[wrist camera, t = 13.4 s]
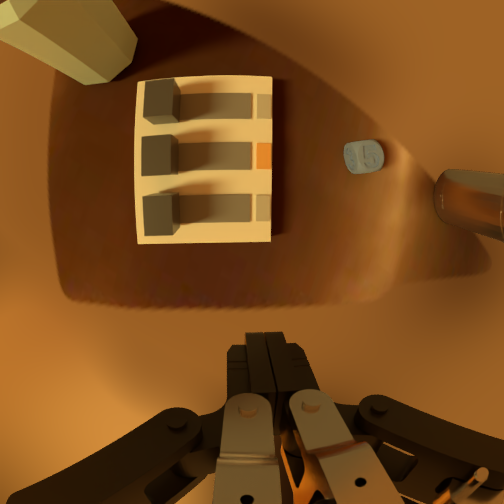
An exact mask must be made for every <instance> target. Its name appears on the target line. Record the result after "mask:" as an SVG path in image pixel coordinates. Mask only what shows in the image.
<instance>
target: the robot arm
mask: <svg viewBox="0 0 504 504" xmlns="http://www.w3.org/2000/svg"><path fill="white" fill-rule="evenodd" d="M434 203H435V208H436V212H437V214H438V216H439V217H440V219H441V220H442V221H443V222H445V223H447V224H450V225H454V226H457V227H460V228H463V229H466V230H469V231H472V232H475V233H478V234H481V235H484V236H487V237H490V238H493V239H496V240H498V241H501V242H504V174H499V173H490V172H480V171H469V170H457V169H448V170H446V171H444V172H443V173H442V174H441V175H440V177H439V178H438V180H437V182H436V186H435V190H434ZM274 435H281V439H282V446H281V454H282V457H283V461H284V464H285V468H286V471H287V474H288V477H289V481H290V484H291V487H292V490H293V495H294V504H418V503H416V502H414V501H412V500H409V499H407V498H405V497H403V496H400V495H399V493H401V494H403V495H406V496H408V497H410V498H413V499H415V500H418V501H420V502H423V503H426V504H502V502H503V499H504V440H501V439H498V438H494V437H492V436H488V435H485V434H482V433H479V432H476V431H473V430H470V429H467V428H464V427H462V426H459V425H456V424H453V423H451V422H448V421H445V420H443V419H440V418H437V417H435V416H432V415H430V414H427V413H424V412H422V411H420V410H417V409H415V408H413V407H410V406H408V405H405V404H403V403H401V402H398V401H396V400H394V399H391V398H389V397H387V396H383V395H370V396H367V397H365V398H363V399H362V401H361V402H360V403H359V405H343V404H338V403H335V402H333V401H332V399H331V398H330V397H329V396H328V395H327V394H326V393H324V392H322V391H320V389H319V386H318V384H317V382H316V379H315V377H314V374H313V372H312V369H311V367H310V364H309V362H308V360H307V357H306V355H305V352H304V350H303V349H302V348H301V347H300V346H299V345H297V344H296V343H286V340H285V337H284V334H283V332H264V333H263V332H258V333H245V345H232V346H231V348H230V349H229V350H228V352H227V401H226V403H225V404H224V406H223V407H222V408H220V409H219V410H217V411H216V412H213V413H210V414H206V415H201V416H198V415H197V414H196V413H194V412H193V411H191V410H189V409H185V408H179V407H178V408H170V409H166V410H163V411H162V412H160V413H159V414H157V415H156V416H154V417H153V418H151V419H149V420H148V421H147V422H145V423H143V424H142V425H140V426H139V427H137V428H135V429H134V430H133V431H131V432H129V433H128V434H126V435H124V436H123V437H121V438H119V439H118V440H116V441H115V442H113V443H111V444H109V445H108V446H106V447H104V448H102V449H101V450H99V451H97V452H95V453H94V454H92V455H90V456H88V457H86V458H85V459H83V460H81V461H79V462H78V463H75V464H74V465H72V466H70V467H68V468H66V469H64V470H62V471H60V472H58V473H56V474H54V475H52V476H50V477H48V478H46V479H44V480H42V481H40V482H37V483H35V484H33V485H31V486H29V487H26V488H24V489H22V490H19V491H17V492H15V493H13V494H12V495H10V497H9V498H8V500H7V502H6V504H175V503H176V502H177V501H178V500H180V499H181V498H182V497H183V496H185V495H186V494H187V493H188V492H190V491H191V490H192V489H193V488H194V487H195V486H197V485H198V484H199V483H200V482H201V481H202V480H203V479H205V477H206V476H207V475H208V474H211V473H215V482H214V491H213V501H212V504H282V502H281V489H280V476H279V464H278V459H277V458H275V450H274ZM383 442H386V443H389V444H391V445H393V446H395V447H397V448H400V449H402V450H404V451H407V452H409V453H411V454H413V455H415V456H410V455H407V454H404V453H402V452H400V451H398V450H396V449H393V448H391V447H389V446H387V445H385V444H383ZM398 492H399V493H398Z"/></svg>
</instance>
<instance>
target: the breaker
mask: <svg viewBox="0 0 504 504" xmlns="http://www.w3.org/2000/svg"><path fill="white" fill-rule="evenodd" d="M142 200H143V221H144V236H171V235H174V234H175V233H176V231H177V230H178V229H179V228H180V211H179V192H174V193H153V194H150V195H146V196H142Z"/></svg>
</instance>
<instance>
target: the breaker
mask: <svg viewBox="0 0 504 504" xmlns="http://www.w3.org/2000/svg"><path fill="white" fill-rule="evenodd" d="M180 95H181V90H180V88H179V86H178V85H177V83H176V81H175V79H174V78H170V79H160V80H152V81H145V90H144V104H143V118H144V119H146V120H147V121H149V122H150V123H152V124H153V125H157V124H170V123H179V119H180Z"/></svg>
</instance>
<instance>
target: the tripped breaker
mask: <svg viewBox="0 0 504 504" xmlns="http://www.w3.org/2000/svg"><path fill="white" fill-rule="evenodd" d="M162 175H178V139H177V138H175V137H174V136H173V135H171V134H165V135H153V136H142V137H141V176H162Z"/></svg>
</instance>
